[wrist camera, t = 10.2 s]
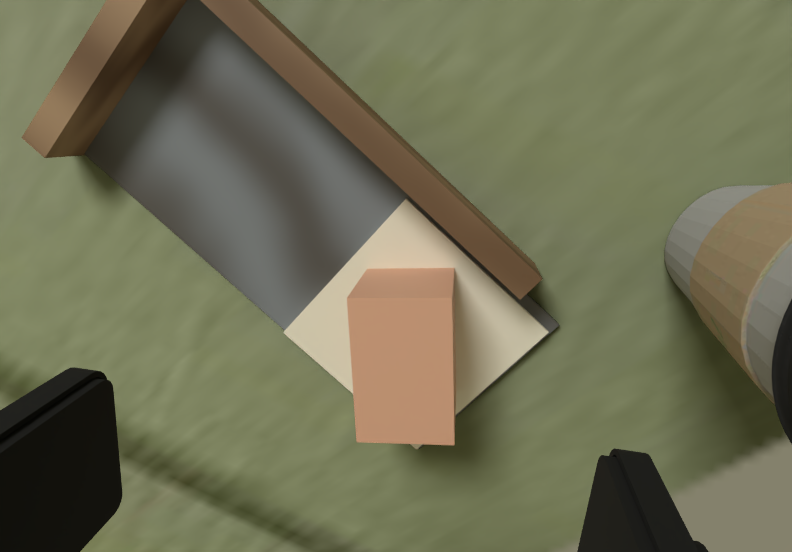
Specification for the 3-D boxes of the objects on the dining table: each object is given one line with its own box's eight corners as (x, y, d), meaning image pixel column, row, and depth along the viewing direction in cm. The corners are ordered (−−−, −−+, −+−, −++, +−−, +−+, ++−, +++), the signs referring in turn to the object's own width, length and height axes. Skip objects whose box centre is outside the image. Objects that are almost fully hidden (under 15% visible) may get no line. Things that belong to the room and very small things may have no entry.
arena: (193, -60, 25) (158, -85, 22) (578, 305, 27) (591, 325, 25) (66, 136, 28) (21, 137, 26) (418, 446, 31) (413, 479, 28)
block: (367, 268, 28) (346, 297, 23) (454, 267, 27) (452, 297, 22) (374, 391, 30) (356, 442, 25) (456, 392, 29) (454, 445, 24)
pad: (406, 198, 27) (405, 198, 26) (547, 330, 28) (548, 332, 27) (284, 330, 30) (283, 332, 29) (417, 446, 30) (416, 449, 30)
